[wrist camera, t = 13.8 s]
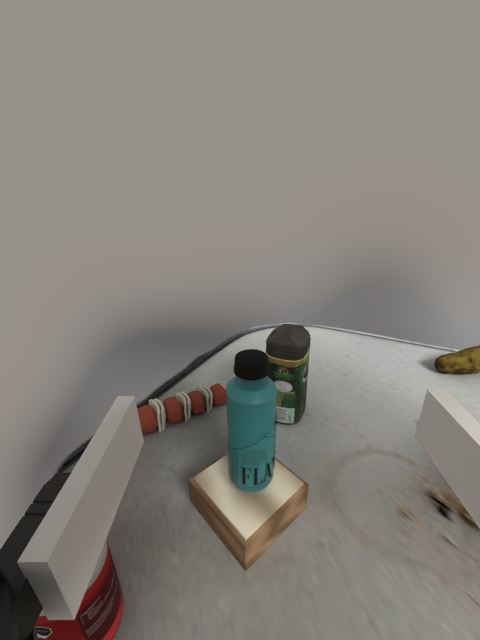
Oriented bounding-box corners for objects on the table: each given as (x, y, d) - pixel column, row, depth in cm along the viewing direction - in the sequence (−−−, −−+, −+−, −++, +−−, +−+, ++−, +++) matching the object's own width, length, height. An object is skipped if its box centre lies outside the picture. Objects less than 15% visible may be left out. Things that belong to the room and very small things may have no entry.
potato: (433, 360, 81) (440, 333, 78) (493, 373, 75) (503, 344, 72) (432, 374, 75) (440, 346, 72) (498, 390, 69) (509, 359, 65)
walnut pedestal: (249, 457, 52) (249, 435, 50) (306, 507, 44) (308, 482, 42) (191, 502, 45) (188, 477, 43) (245, 571, 36) (245, 545, 35)
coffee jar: (273, 393, 69) (276, 318, 62) (308, 401, 66) (315, 323, 59) (259, 420, 61) (260, 337, 54) (298, 430, 58) (305, 345, 51)
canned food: (45, 604, 34) (15, 541, 30) (120, 567, 37) (103, 506, 33) (38, 698, 27) (-1, 636, 23) (129, 643, 31) (109, 580, 26)
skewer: (250, 382, 66) (104, 431, 52) (250, 399, 68) (108, 452, 54) (238, 371, 70) (100, 414, 56) (238, 388, 72) (104, 434, 58)
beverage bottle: (236, 509, 38) (233, 375, 31) (222, 468, 44) (216, 347, 36) (282, 493, 40) (290, 364, 33) (262, 456, 46) (266, 339, 38)
